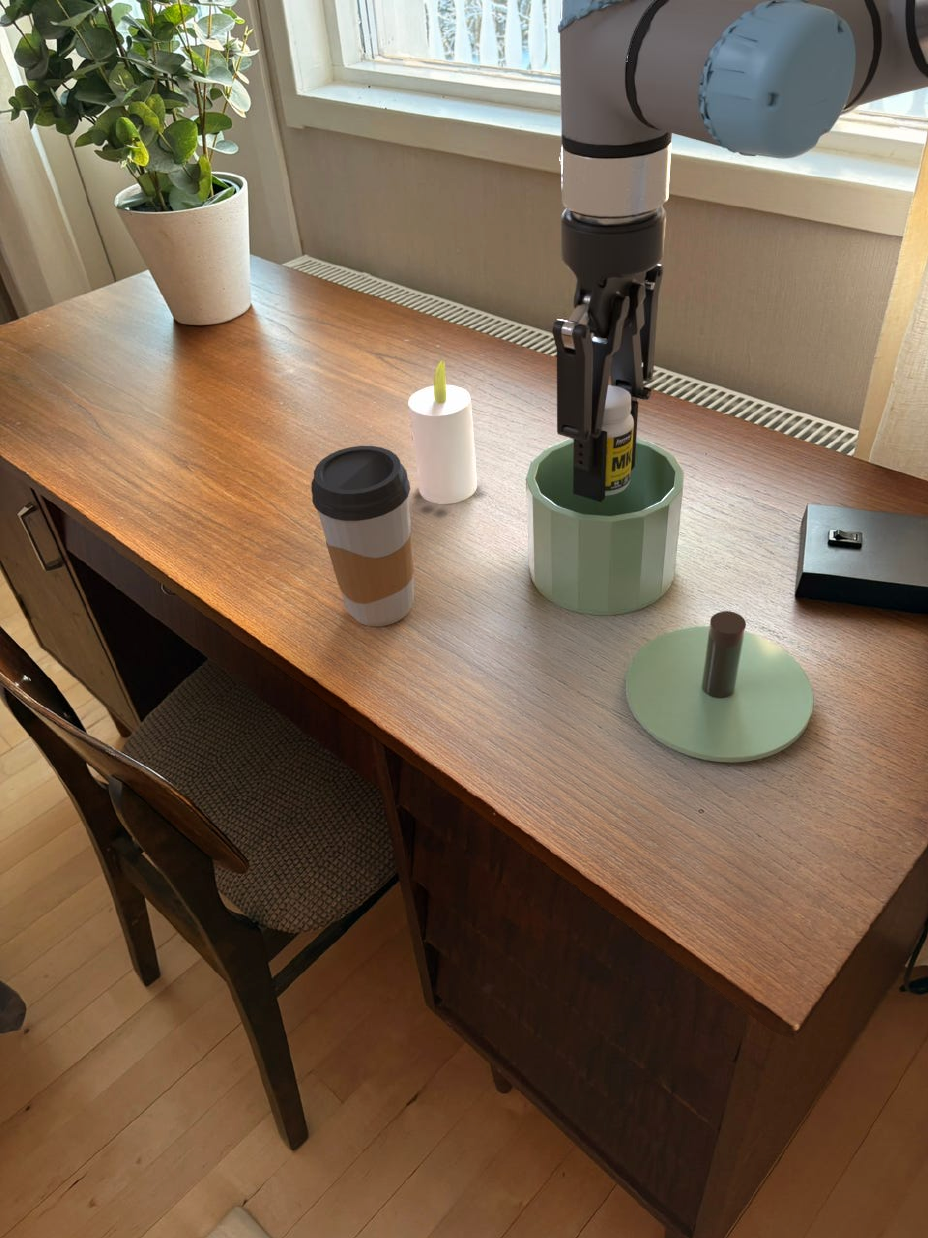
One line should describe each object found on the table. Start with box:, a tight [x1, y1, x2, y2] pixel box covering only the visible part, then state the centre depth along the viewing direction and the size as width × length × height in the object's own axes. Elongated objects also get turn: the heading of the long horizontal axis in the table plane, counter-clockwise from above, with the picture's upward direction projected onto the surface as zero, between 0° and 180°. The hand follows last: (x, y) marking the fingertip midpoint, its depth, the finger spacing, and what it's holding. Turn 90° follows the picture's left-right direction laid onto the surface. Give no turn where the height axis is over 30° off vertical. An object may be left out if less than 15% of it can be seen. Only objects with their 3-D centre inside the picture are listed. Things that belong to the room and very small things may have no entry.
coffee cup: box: [310, 445, 415, 627], centre depth 83 cm, size 8×8×15 cm
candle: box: [407, 359, 478, 505], centre depth 97 cm, size 6×6×15 cm
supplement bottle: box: [602, 384, 634, 496], centre depth 80 cm, size 5×5×8 cm
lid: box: [625, 610, 814, 763], centre depth 74 cm, size 15×15×8 cm
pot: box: [525, 437, 685, 616], centre depth 86 cm, size 14×14×10 cm
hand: (604, 479), depth 83 cm, fingers closed on supplement bottle, 5 cm apart
